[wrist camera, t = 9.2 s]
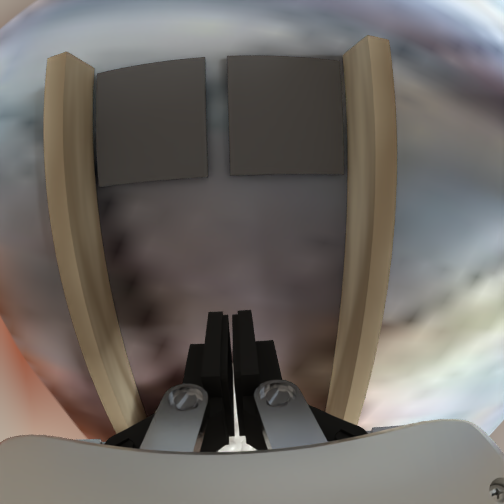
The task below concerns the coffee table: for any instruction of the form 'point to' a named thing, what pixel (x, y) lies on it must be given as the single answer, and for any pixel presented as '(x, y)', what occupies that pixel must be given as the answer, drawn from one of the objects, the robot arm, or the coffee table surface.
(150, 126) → the mats
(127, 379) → the lane
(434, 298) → the coffee table surface
